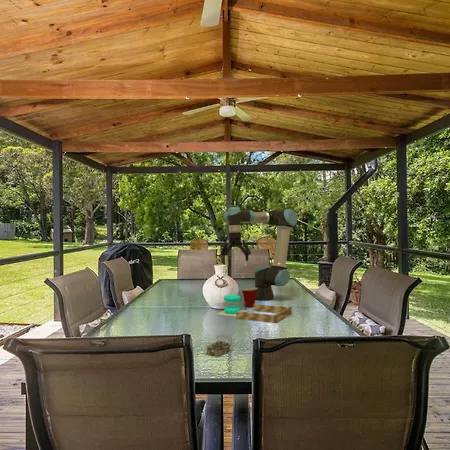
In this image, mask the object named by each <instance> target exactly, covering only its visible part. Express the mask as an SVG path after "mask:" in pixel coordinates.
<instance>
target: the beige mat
mask: <svg viewBox="0 0 450 450" xmlns="http://www.w3.org/2000/svg"><path fill="white" fill-rule="evenodd" d="M241 312H249V310H243V309H241ZM215 315H216V316H225V317H233V318H236V314H228V313H225V312H224V310H222V311H220V312H216V313H215Z"/></svg>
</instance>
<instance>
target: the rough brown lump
mask: <svg viewBox="0 0 450 450" xmlns="http://www.w3.org/2000/svg"><path fill="white" fill-rule="evenodd" d="M231 347H232V343H229V342H226V341H223V340H222V341H221V340H220V339H218V340H216V341H215V342H212V343H211V344H209V345H206V346H205V350H206V354H207V356H214V357H222V356H223V354H227V352H231Z"/></svg>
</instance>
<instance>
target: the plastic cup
mask: <svg viewBox="0 0 450 450" xmlns="http://www.w3.org/2000/svg"><path fill="white" fill-rule="evenodd" d="M257 289H258V288H255V287H245V288H241V291H242V295H243V300H244V306H245V308H253V304H256V301H257V300H256V293H257Z"/></svg>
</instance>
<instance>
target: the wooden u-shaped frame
mask: <svg viewBox="0 0 450 450" xmlns="http://www.w3.org/2000/svg"><path fill="white" fill-rule="evenodd" d="M252 308H253V312H241V311H237V312H236V317H235V318H236V319H237V320H244V321H253V322H262V323H269V324H277V323H279V322H281V321H282V320H284V319H286V318H287V317H290V316H291V315H292V313H293V310H292V307H291V306H279V305H272V304H271V305H269V304H260V303H259V304H257V303H255V304H253V307H252ZM261 312H262V313H261ZM267 313H271V314H267Z"/></svg>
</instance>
